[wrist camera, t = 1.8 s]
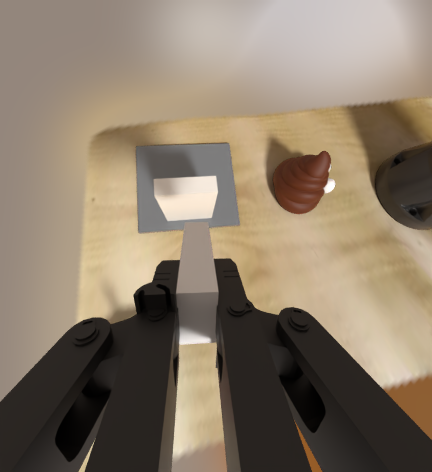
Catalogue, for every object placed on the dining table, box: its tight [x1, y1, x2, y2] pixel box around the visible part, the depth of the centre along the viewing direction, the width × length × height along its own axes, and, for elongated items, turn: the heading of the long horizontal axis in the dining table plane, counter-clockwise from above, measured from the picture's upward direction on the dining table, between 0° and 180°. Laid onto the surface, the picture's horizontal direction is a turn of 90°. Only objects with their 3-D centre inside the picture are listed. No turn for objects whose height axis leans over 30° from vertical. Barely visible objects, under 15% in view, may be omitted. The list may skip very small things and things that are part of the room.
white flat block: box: [154, 176, 218, 221], centre depth 27 cm, size 7×2×10 cm, turn 96°
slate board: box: [136, 143, 240, 233], centre depth 33 cm, size 16×15×1 cm
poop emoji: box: [273, 151, 335, 214], centre depth 31 cm, size 10×8×9 cm
